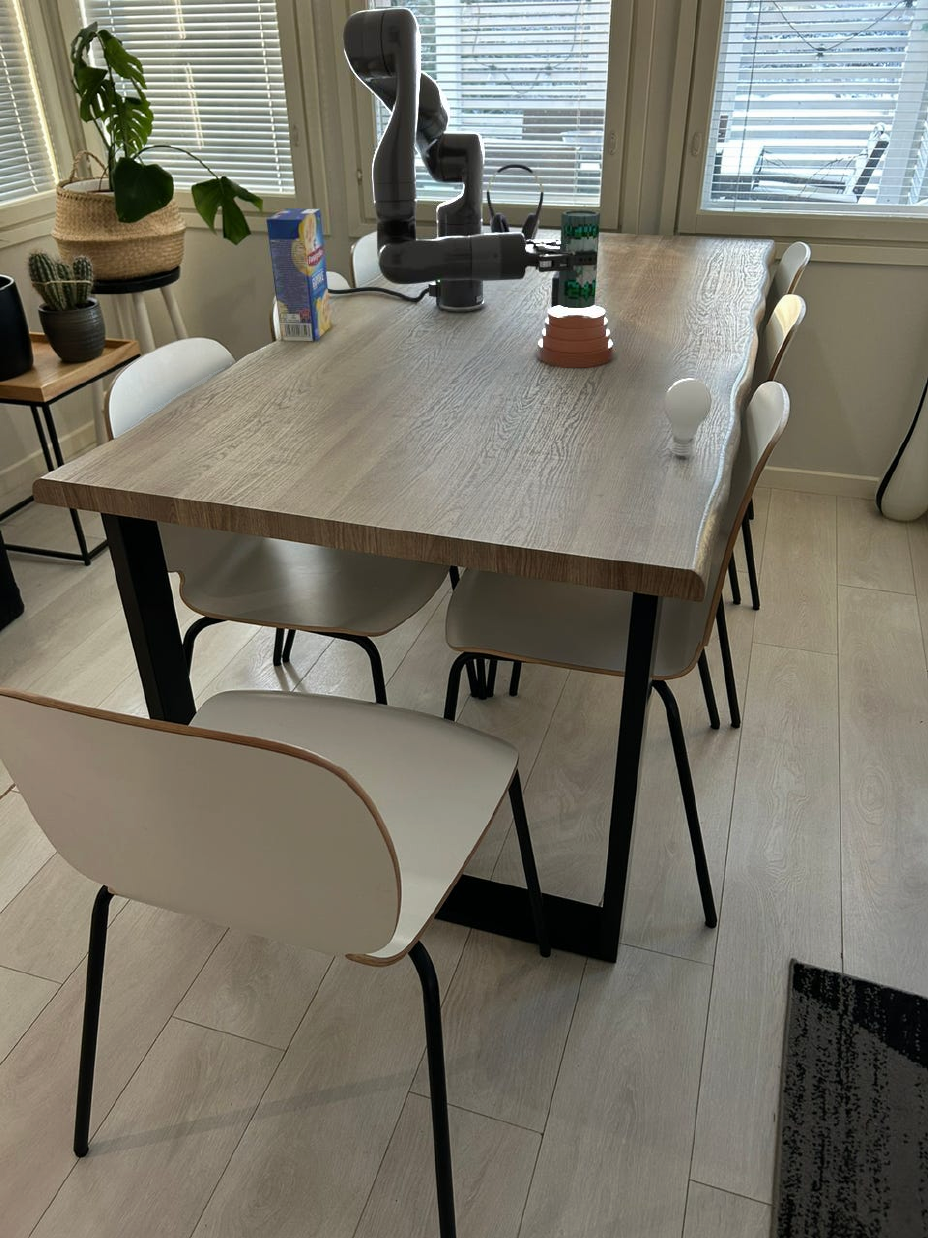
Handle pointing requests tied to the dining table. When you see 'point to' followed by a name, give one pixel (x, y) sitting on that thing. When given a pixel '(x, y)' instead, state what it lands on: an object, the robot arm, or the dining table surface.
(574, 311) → the orange stepped round pedestal
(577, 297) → the can
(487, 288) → the dining table surface
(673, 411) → the lightbulb
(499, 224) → the headphones
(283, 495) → the dining table surface
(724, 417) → the dining table surface
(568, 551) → the dining table surface
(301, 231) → the blue cracker box
